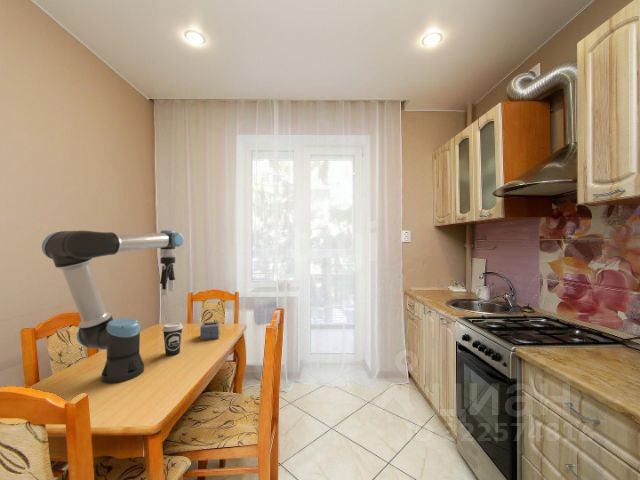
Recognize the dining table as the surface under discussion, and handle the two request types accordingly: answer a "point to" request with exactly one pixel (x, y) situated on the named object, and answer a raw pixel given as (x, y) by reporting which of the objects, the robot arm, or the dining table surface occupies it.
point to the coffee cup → (172, 338)
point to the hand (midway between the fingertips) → (167, 293)
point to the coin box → (210, 330)
